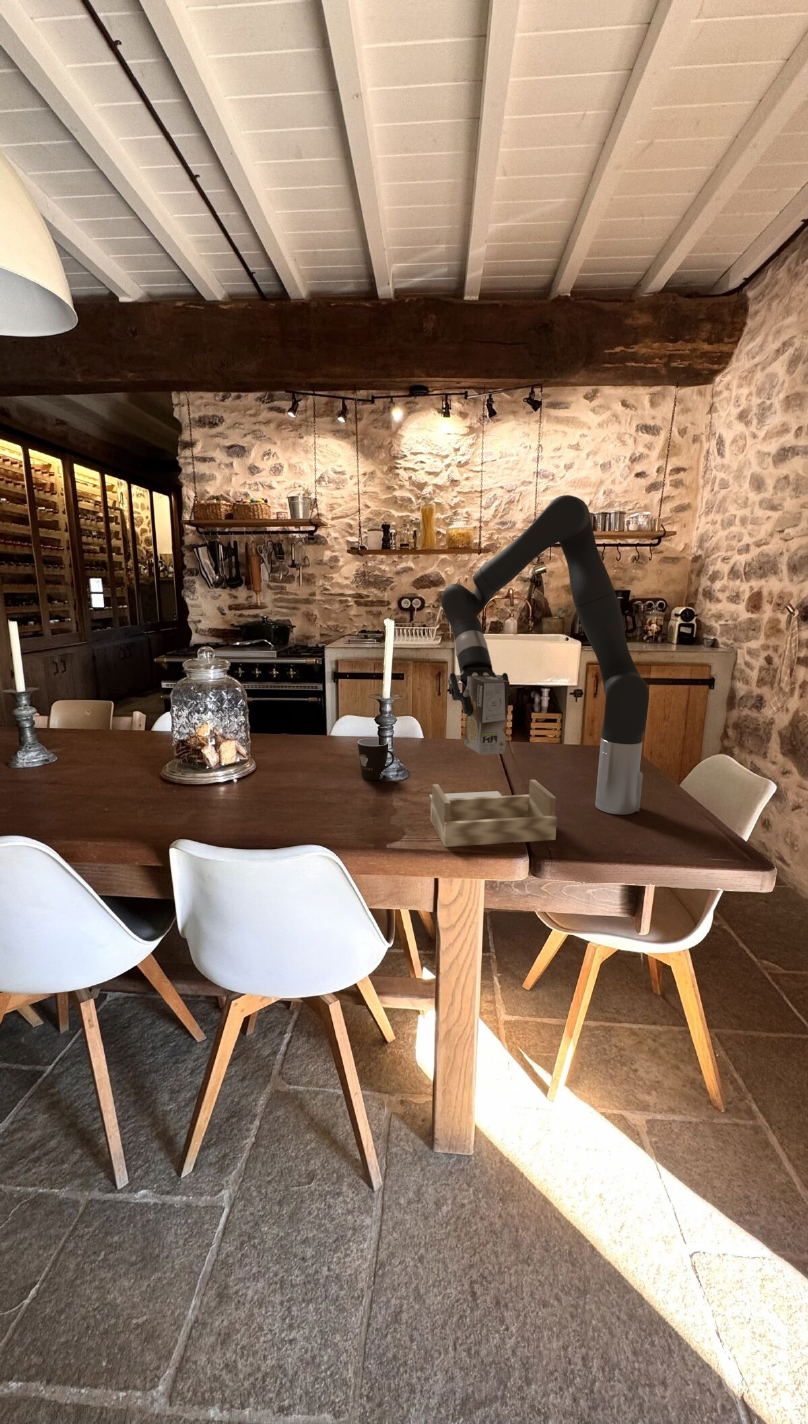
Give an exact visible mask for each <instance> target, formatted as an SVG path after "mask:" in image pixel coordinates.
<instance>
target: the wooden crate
mask: <svg viewBox="0 0 808 1424" xmlns="http://www.w3.org/2000/svg"><path fill="white" fill-rule="evenodd" d="M431 790H432V791H431V793H432V799H431V798H430V822H431V824H432V825H433V828H434V829H435V831H436V833H437V835H438V836H439V838H440V840H441V843H442V844H443V846H444V847H445V848H448V847H464V846H465V847H466V846H478V845H493V844H495V845H496V844H497V845H498V844H508V843H509V844H510V842H511V844H512V842H513V843H524V842H525V843H527V842H542V841H543V842H544V841H556V836H557V821H558V816H557V815H555V814H556V801H557V797H556V796H555V795H554V794H552V793H551V792H550V790H548V789H547V788H545V787H544V786H543V785H542V784H541V783H540V782H538V781H537V780H536V779H529V786H528V794H513V795H502V796H489V797H469V798H449V799H448V798H447V797H446V796H445V794H446V793H445V792H444V791H443V789H442V788H441V787H440V785H439V784H438V783H436V784H435V783H433V784H432V789H431Z"/></svg>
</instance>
